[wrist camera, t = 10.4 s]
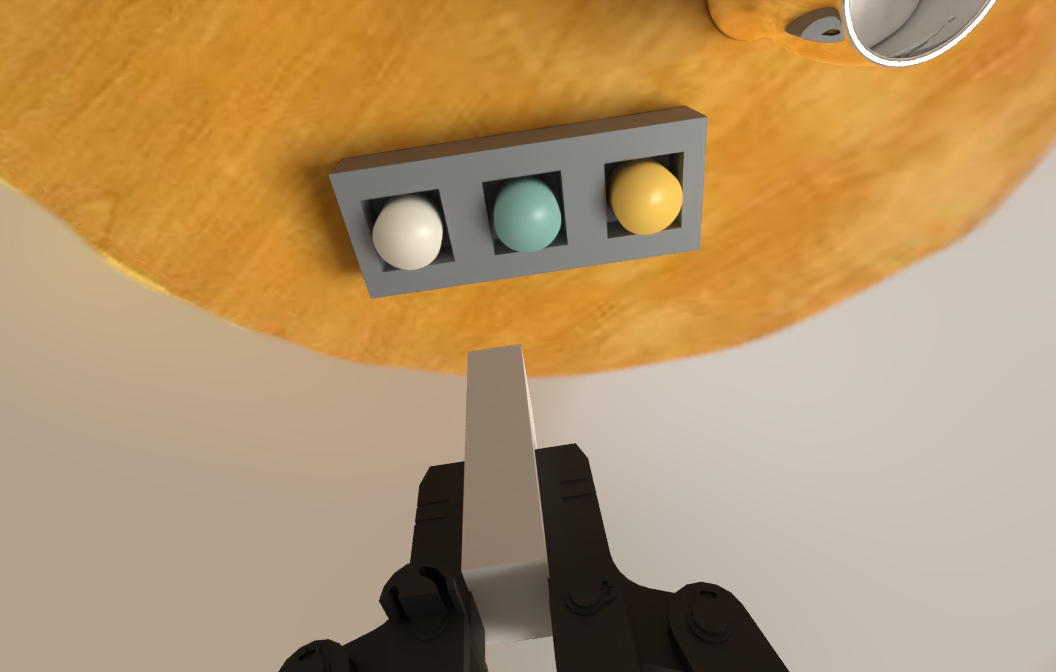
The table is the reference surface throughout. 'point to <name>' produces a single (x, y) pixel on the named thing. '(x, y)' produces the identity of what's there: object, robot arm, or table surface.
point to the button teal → (526, 213)
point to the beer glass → (853, 27)
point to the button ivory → (409, 231)
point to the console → (485, 163)
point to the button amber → (644, 195)
